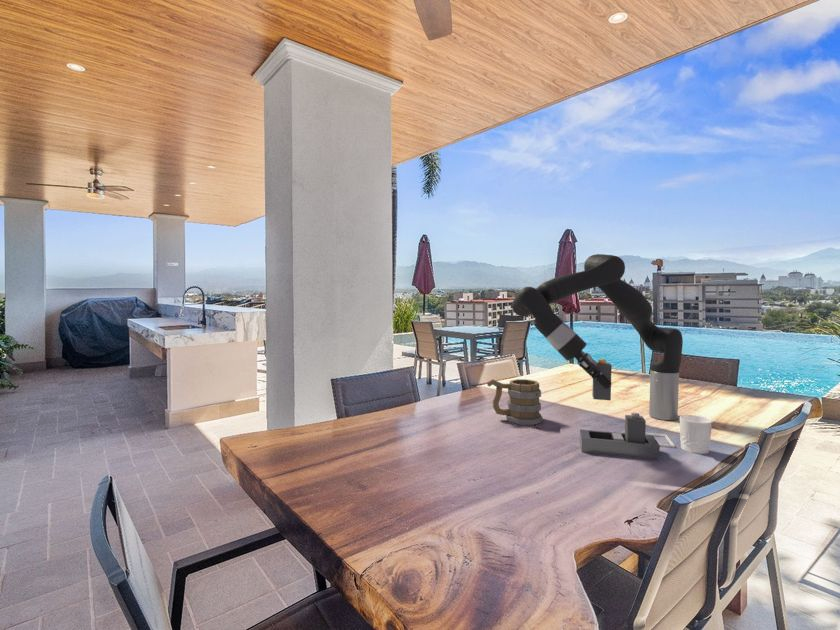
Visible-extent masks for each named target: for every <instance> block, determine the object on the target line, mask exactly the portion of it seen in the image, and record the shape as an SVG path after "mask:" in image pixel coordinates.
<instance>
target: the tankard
mask: <svg viewBox="0 0 840 630" xmlns="http://www.w3.org/2000/svg"><path fill="white" fill-rule="evenodd" d="M486 384H487V387H491V386H495V394H494V396H493V400H492V408H493V410H494V411H495V414H496V415H501V416H505V419H506V420H507V422H508V423H512V424H515V423H516V425H520V426H521V425H522V426H523V425H524V426H536V425H538V424H540V423H543V422H544V417H543V416H542V414H541V413H540V411H541V410H542V404H541V402H540V398H541V397H542V390H541V389H540V383H539V381H537V380H533V379H526V378H525V379H520V378H516V379H512V380H510V381H509V383H503V382H500V381H497V380H495V379H493V378H492V379H490V380H488V381H487V382H486ZM503 389H507V394H508V397H509V399H508V400H507V407H508V408H500V405H499V403H500V400H501V397H502V394H503Z"/></svg>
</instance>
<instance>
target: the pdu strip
mask: <svg viewBox="0 0 840 630" xmlns="http://www.w3.org/2000/svg"><path fill="white" fill-rule="evenodd" d="M659 444H660V443H659V442H658V441H657V439H656V438H655V436H651V435H645V443H640V442H629V441H625V432H616V431H615V432H614V431H613V432H612V431H605V430H592V429H591V430H590V429H579V445H580V450H581V451H580V452H581V453H586V454H587V453H588V454H597V455H606V456H608V455H609V456H617V457H626V458H627V457H628V458H629V457H630V458H638V459H639V458H640V459H645V460H646V459H648V460H658V461H660V451H661V449H660V445H659Z"/></svg>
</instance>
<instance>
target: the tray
mask: <svg viewBox="0 0 840 630" xmlns="http://www.w3.org/2000/svg"><path fill="white" fill-rule="evenodd" d="M645 435H651V436H654V437H662V438H665V439H666V441H667V442H668V443H669V444H668V443H667V444H666V443H665V444H664V443H658V444H659V445H660V447H664V448H673V449H675V448H676V445H675V444H674V442H673V441H672V440H671V439H670V437H669V436H668V435H667V434H665V433H653V432H645Z"/></svg>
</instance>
